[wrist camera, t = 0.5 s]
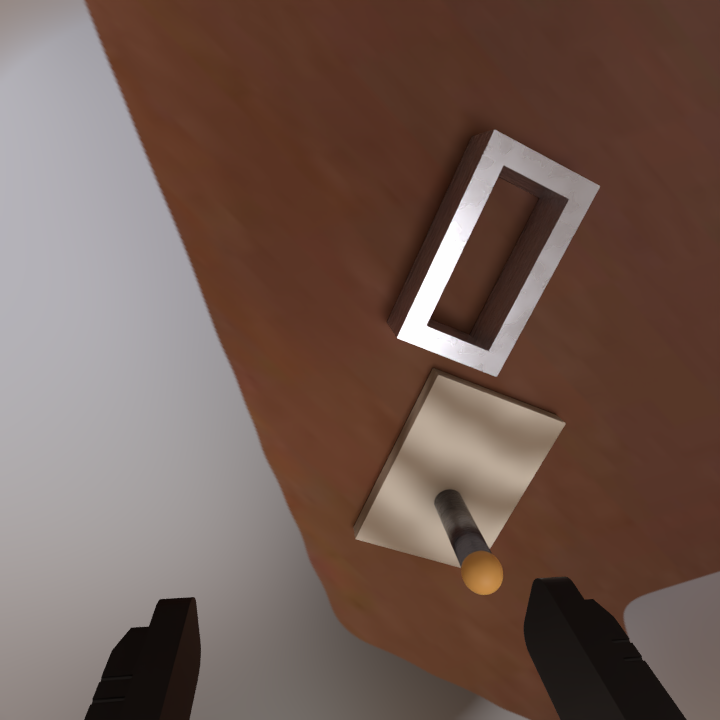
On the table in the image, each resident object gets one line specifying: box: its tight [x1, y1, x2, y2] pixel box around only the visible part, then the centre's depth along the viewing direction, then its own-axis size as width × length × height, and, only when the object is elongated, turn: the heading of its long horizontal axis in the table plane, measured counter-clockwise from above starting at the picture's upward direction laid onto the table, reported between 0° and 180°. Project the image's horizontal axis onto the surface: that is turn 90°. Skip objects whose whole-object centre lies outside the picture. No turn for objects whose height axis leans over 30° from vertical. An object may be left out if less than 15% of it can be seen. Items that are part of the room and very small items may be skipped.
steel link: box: [387, 130, 600, 377], centre depth 33 cm, size 14×8×4 cm, turn 156°
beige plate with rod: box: [354, 368, 566, 595], centre depth 36 cm, size 16×12×11 cm
